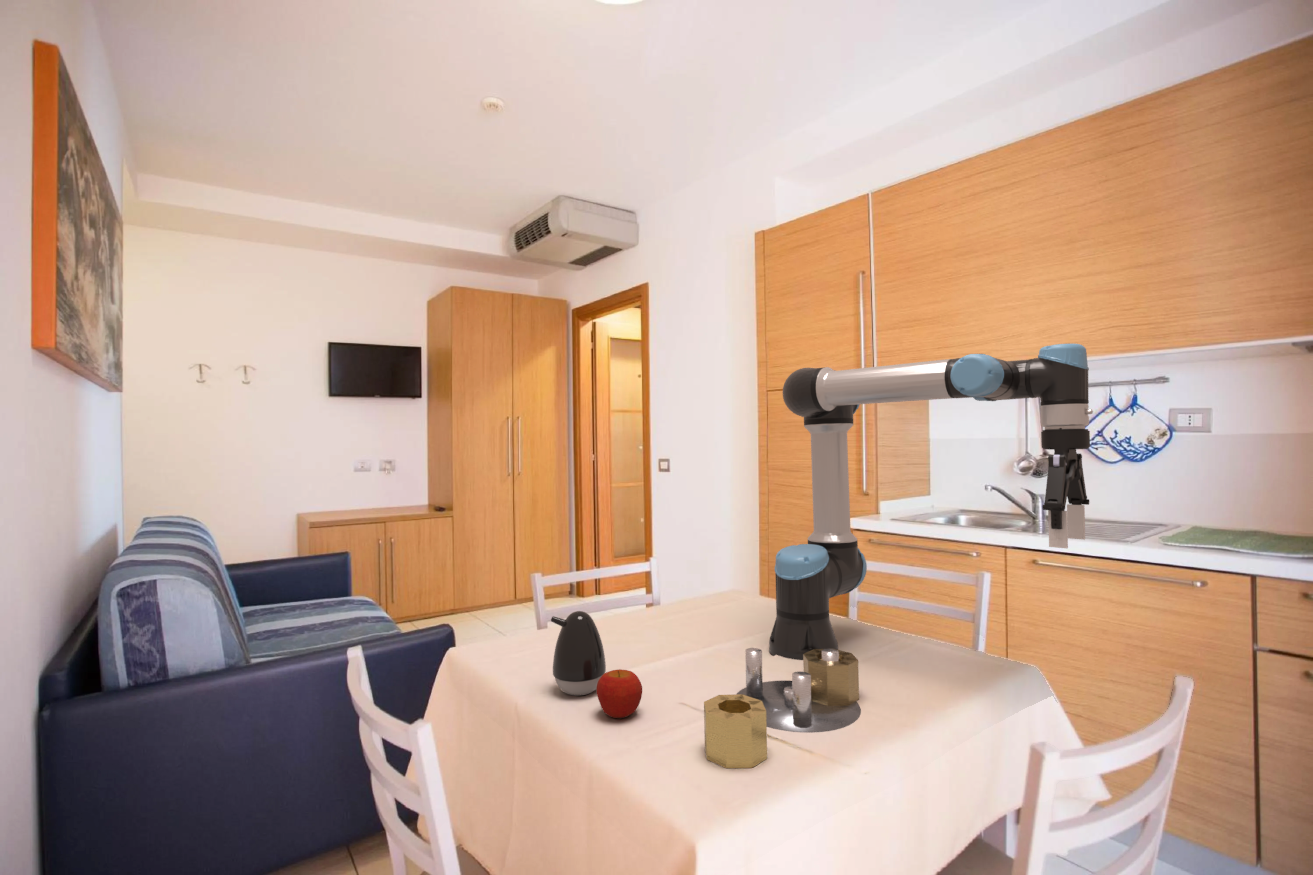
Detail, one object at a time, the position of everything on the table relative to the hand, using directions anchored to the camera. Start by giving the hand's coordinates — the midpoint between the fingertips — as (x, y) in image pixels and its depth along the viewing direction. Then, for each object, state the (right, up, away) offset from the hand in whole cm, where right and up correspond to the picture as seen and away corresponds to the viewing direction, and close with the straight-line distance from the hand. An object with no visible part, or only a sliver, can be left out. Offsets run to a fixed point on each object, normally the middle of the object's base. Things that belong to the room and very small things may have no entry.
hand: (1067, 543), depth 114 cm
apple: (-83, -29, -6) cm, 88 cm away
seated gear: (-44, -28, -1) cm, 52 cm away
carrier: (-51, -29, -5) cm, 59 cm away
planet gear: (-64, -28, -20) cm, 73 cm away
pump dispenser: (-91, -30, +5) cm, 96 cm away
